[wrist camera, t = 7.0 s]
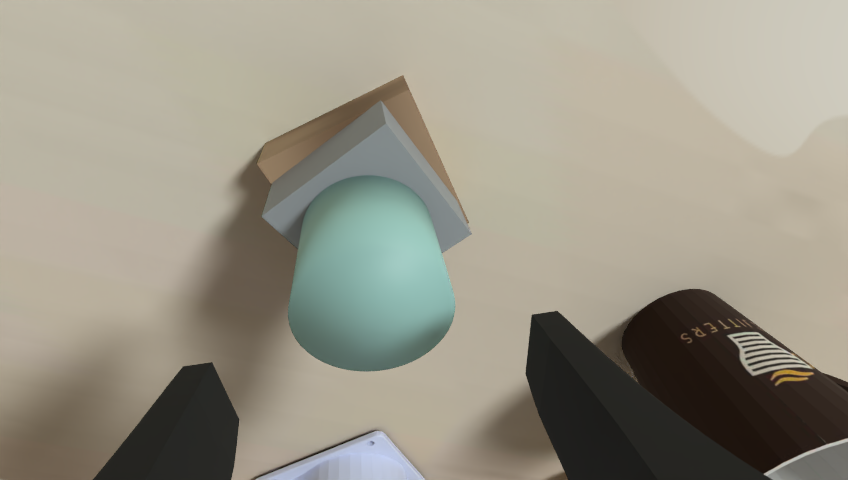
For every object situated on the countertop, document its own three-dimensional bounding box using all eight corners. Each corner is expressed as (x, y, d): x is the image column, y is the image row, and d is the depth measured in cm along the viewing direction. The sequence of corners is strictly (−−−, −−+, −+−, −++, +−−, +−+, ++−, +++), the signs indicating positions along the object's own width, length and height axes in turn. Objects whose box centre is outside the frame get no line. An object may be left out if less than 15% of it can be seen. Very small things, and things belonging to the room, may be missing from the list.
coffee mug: (576, 360, 28) (674, 535, 20) (673, 254, 24) (844, 415, 16) (699, 395, 32) (822, 551, 24) (797, 309, 28) (983, 460, 20)
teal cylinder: (342, 301, 17) (341, 390, 13) (274, 210, 14) (252, 291, 11) (451, 255, 16) (476, 335, 13) (400, 152, 14) (416, 219, 10)
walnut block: (341, 247, 21) (340, 280, 19) (266, 139, 18) (256, 164, 16) (456, 195, 21) (468, 222, 18) (401, 72, 17) (409, 89, 15)
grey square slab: (359, 266, 19) (360, 306, 17) (272, 182, 16) (261, 216, 14) (457, 201, 18) (471, 233, 16) (380, 100, 15) (386, 123, 13)
